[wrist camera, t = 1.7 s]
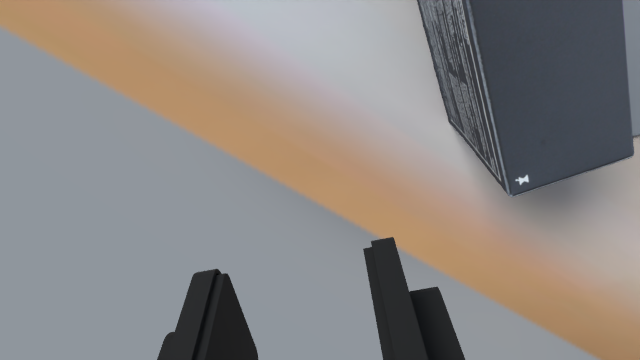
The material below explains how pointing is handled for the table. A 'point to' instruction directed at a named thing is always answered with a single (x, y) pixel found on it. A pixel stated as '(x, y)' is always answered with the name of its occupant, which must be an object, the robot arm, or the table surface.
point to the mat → (633, 58)
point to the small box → (534, 84)
